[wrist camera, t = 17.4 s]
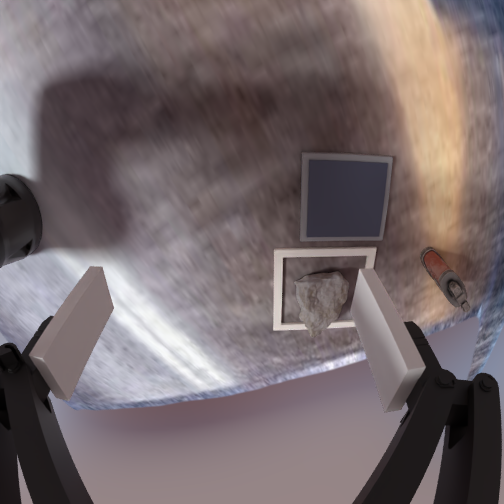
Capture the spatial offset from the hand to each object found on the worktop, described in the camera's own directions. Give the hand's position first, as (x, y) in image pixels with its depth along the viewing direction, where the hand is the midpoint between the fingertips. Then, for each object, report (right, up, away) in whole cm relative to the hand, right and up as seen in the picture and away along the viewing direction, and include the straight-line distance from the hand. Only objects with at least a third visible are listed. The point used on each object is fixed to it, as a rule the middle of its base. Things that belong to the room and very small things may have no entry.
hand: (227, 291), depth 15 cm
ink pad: (+13, +9, +25) cm, 30 cm away
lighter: (+31, 0, +30) cm, 43 cm away
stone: (+11, -4, +32) cm, 34 cm away
